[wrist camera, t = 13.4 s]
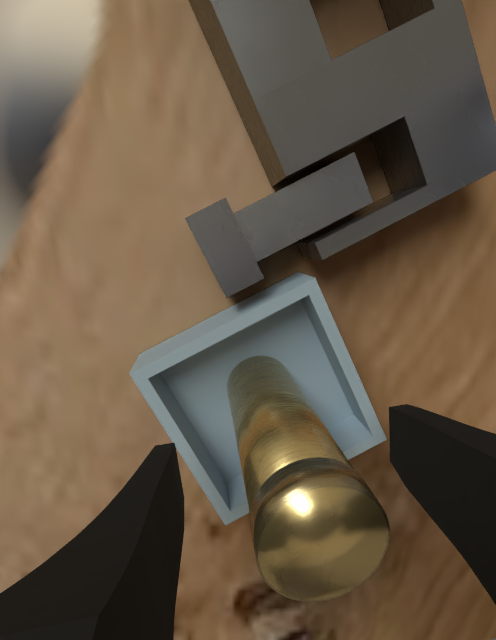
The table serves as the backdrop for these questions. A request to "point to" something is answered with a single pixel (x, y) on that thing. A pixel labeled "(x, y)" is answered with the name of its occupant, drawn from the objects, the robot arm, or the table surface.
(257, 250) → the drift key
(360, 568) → the gold metallic cylinder
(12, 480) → the table surface
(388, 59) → the socket block
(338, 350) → the tray
